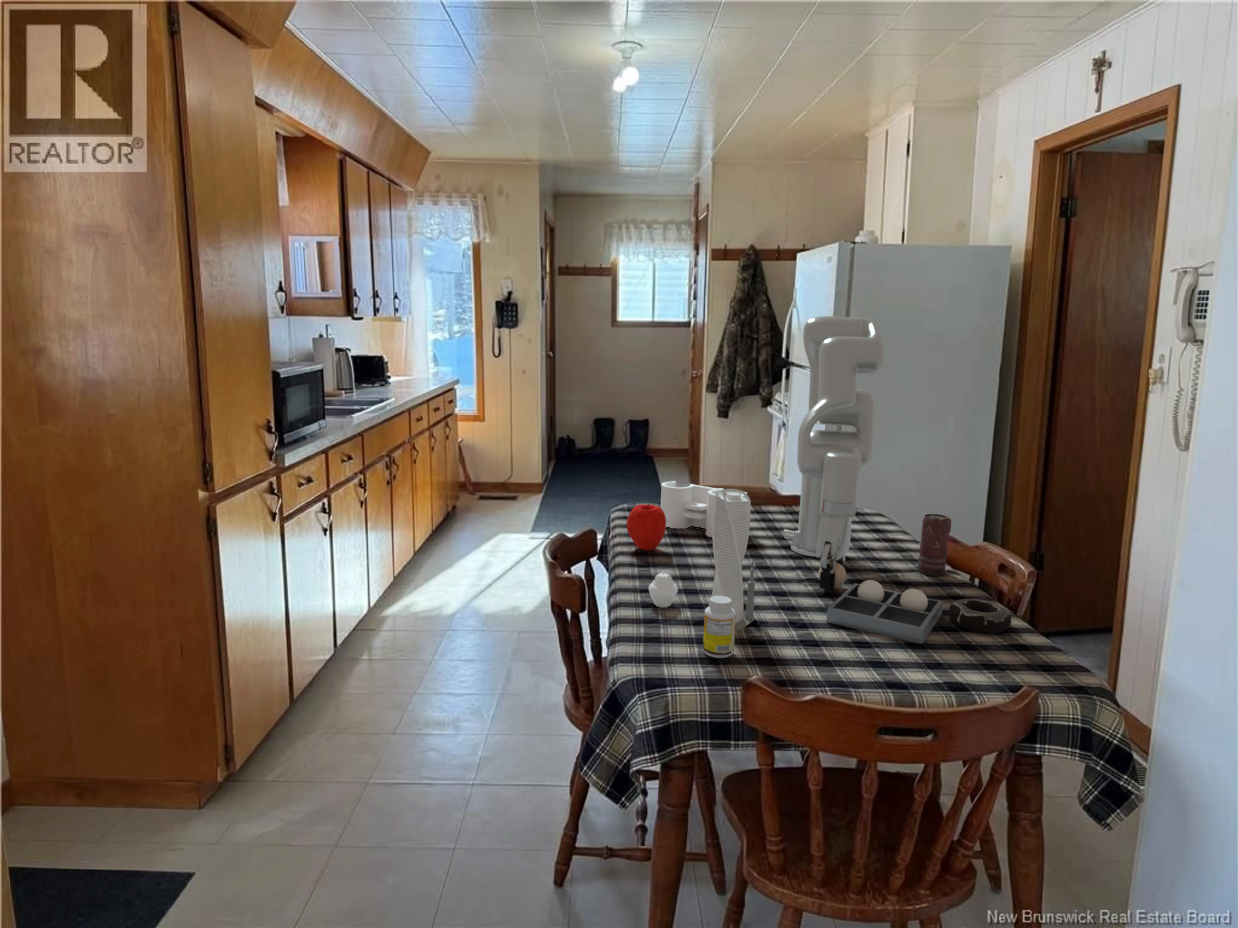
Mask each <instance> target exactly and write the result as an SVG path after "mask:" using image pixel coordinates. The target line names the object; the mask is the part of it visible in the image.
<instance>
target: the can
mask: <svg viewBox="0 0 1238 928" xmlns="http://www.w3.org/2000/svg"><path fill="white" fill-rule="evenodd" d="M951 529H952V519H951V518H950V517H948V516H947V515H945V514H944V515H942V514H937V513H928V514H925V515H924V517H923V518H922V526H921V533H920V534H921V535H920V542H919V543H920V544H919V545H920V546H919V552H918V553H919V554H918V564H917V569H918V570H917V571H918V572H919V573H921V574H923V575H926V576H931V577H941V576H943V575H944V574H945V573H946V566H947V565H946V564H947V556H948V546H949V539H950V538H949V537H950V533H951ZM940 575H941V576H940Z"/></svg>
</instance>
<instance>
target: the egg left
mask: <svg viewBox="0 0 1238 928" xmlns="http://www.w3.org/2000/svg"><path fill="white" fill-rule="evenodd" d="M859 584H860V586H859V587H858V591H857V594H858V598H861V599H866V600H871V601H875V602H881V601H882V600H883V598H884V590H883V589H884V587H883V586H882V585H881V584H880V583H879V582H878V581H876V580H872V579H868V580H865V581H862V582H861V583H859Z"/></svg>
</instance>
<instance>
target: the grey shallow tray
mask: <svg viewBox="0 0 1238 928" xmlns="http://www.w3.org/2000/svg"><path fill="white" fill-rule="evenodd" d="M860 584H861V583H855V582H854V584H852V585H850V587H849V588H847V590H846V591H844V592H843V593H842V594H841V595H840V596H839V597H838V598H837V599H835V600H834V602H832V603H831V604H830V605H829V606H827V610H826V611H827V612H826V623H829V624H833V625H837V626H842V627H845V628H850V629H855V630H857V631H864V632H867V633H872V634H876V635H881V636H885V637H889V638H894V639H897V640H902V641H905V642H911V643H915V644H918V645H919V644H920V645H922V644H923V643H924V642H925V641H926V639H927V638H928V636H929V634H930V633H931V631H932V629H933V628H934V627H935V625H936V623H937V622H939V619H940V618H941V617H942V615H943V614H942V613H943V604H944V601H943V600H940V599H934V598H929V597H927V600H928V606H927V608H926V610H925V611H924V612H922V611H918V610H913V609H908V608H904V607H901V605H900V598H901V595H902V594H903V593H904V592H900V591H895V590H890V589H886V588H885V589H884V588H883V590H884V598H883V600H882V601H881V602H875V601H871V600H866V599H861V598H858V594H857V591H858V587H859V586H860Z"/></svg>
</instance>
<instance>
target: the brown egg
mask: <svg viewBox="0 0 1238 928" xmlns="http://www.w3.org/2000/svg"><path fill="white" fill-rule="evenodd" d="M828 563H829V564H830V565H832V562H829V561H828ZM842 565H843V564H842ZM842 565H841V564H839V563H837V562H836V564H835V569H834V573H835V585H834V589H838V588H840V587H842V585H844V583H845V581H846V580H847V579H846V578H847V572H846V569H844V567H843V566H842ZM820 569H821V567H819V570H818V580H819V581H820V572H821V571H820Z"/></svg>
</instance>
